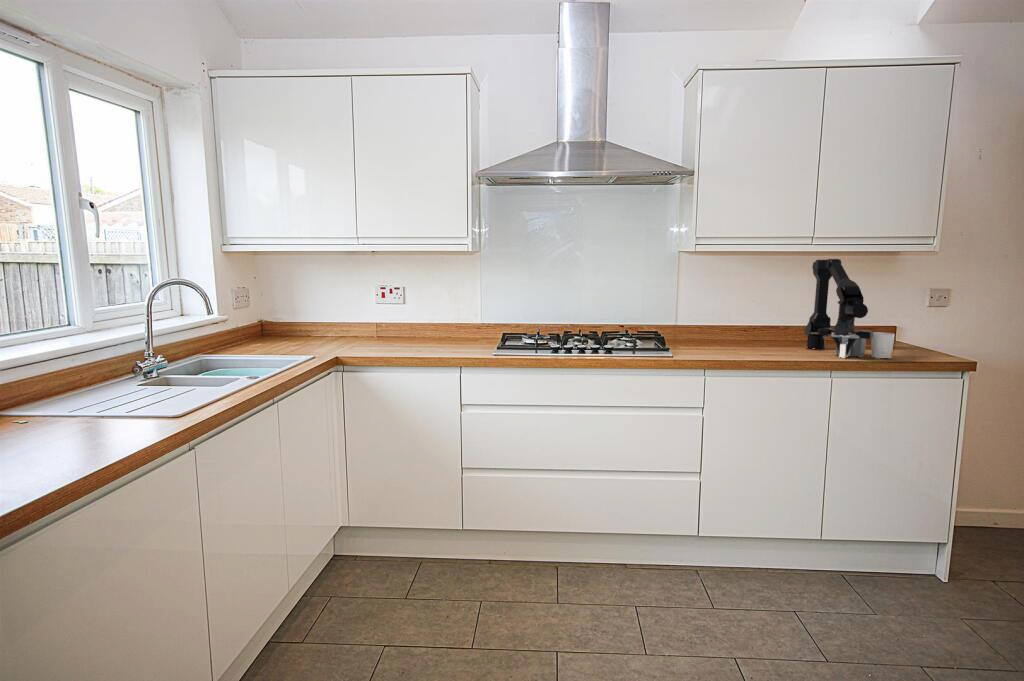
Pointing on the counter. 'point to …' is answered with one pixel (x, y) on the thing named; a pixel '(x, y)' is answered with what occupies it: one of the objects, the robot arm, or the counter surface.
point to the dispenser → (855, 346)
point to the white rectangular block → (844, 350)
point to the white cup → (882, 344)
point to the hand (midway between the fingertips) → (843, 354)
